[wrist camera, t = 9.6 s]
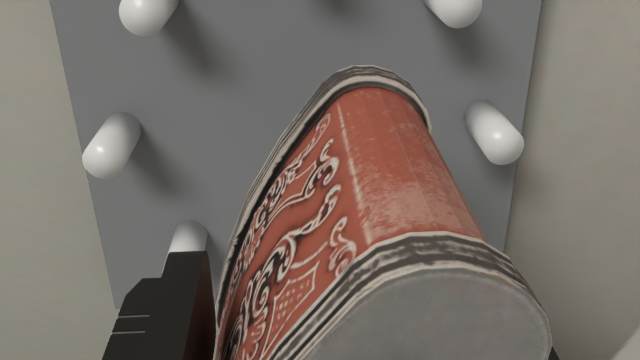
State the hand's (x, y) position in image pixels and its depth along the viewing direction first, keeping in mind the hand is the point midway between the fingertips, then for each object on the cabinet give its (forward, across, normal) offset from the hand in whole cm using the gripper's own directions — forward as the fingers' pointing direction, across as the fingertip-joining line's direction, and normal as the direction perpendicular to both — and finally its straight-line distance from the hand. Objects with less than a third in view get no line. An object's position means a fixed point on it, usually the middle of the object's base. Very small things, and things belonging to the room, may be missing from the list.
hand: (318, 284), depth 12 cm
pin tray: (+10, 0, 0) cm, 10 cm away
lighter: (+3, 0, 0) cm, 3 cm away
